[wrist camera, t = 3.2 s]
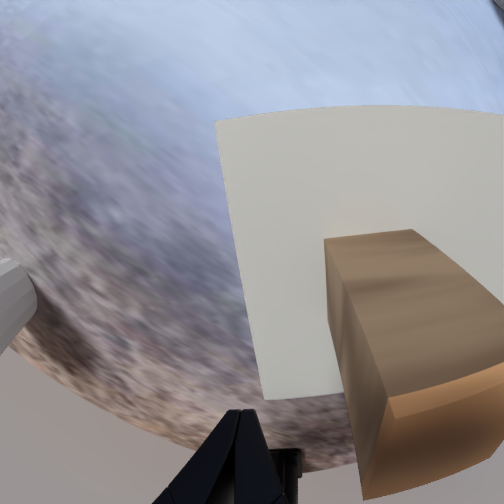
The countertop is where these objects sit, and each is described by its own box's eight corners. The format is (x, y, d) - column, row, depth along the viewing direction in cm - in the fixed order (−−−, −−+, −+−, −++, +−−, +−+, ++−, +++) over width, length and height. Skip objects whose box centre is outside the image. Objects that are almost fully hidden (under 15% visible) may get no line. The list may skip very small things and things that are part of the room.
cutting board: (522, 333, 17) (528, 339, 16) (264, 390, 20) (264, 400, 19) (549, 126, 11) (558, 127, 10) (218, 122, 14) (214, 121, 13)
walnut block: (406, 308, 16) (489, 457, 6) (327, 320, 17) (363, 500, 6) (412, 228, 14) (552, 356, 4) (323, 238, 15) (395, 418, 5)
